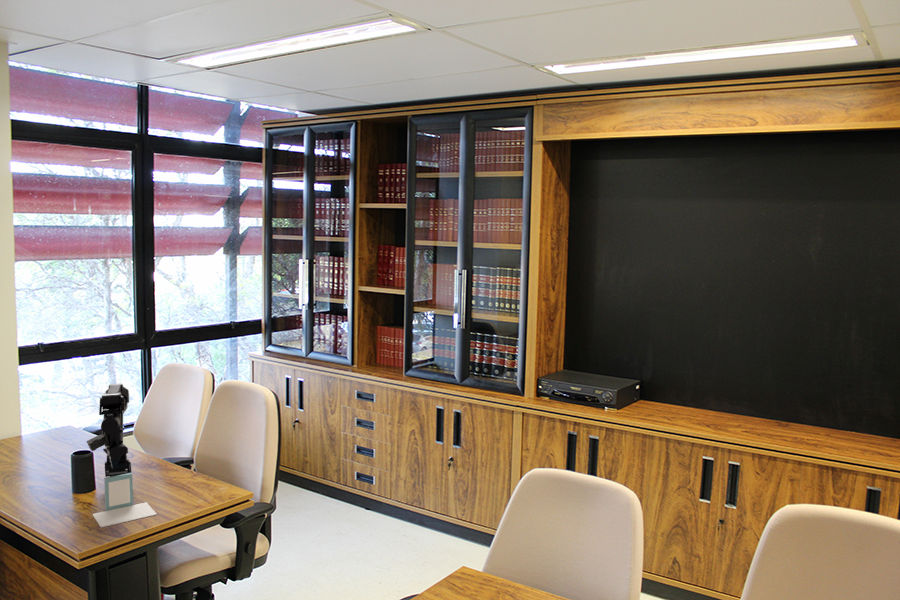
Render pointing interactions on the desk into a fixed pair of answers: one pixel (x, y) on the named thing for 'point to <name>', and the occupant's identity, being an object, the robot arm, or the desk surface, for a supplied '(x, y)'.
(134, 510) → the mat
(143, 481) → the desk surface
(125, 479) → the tile
